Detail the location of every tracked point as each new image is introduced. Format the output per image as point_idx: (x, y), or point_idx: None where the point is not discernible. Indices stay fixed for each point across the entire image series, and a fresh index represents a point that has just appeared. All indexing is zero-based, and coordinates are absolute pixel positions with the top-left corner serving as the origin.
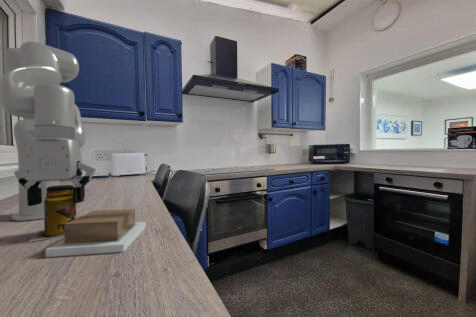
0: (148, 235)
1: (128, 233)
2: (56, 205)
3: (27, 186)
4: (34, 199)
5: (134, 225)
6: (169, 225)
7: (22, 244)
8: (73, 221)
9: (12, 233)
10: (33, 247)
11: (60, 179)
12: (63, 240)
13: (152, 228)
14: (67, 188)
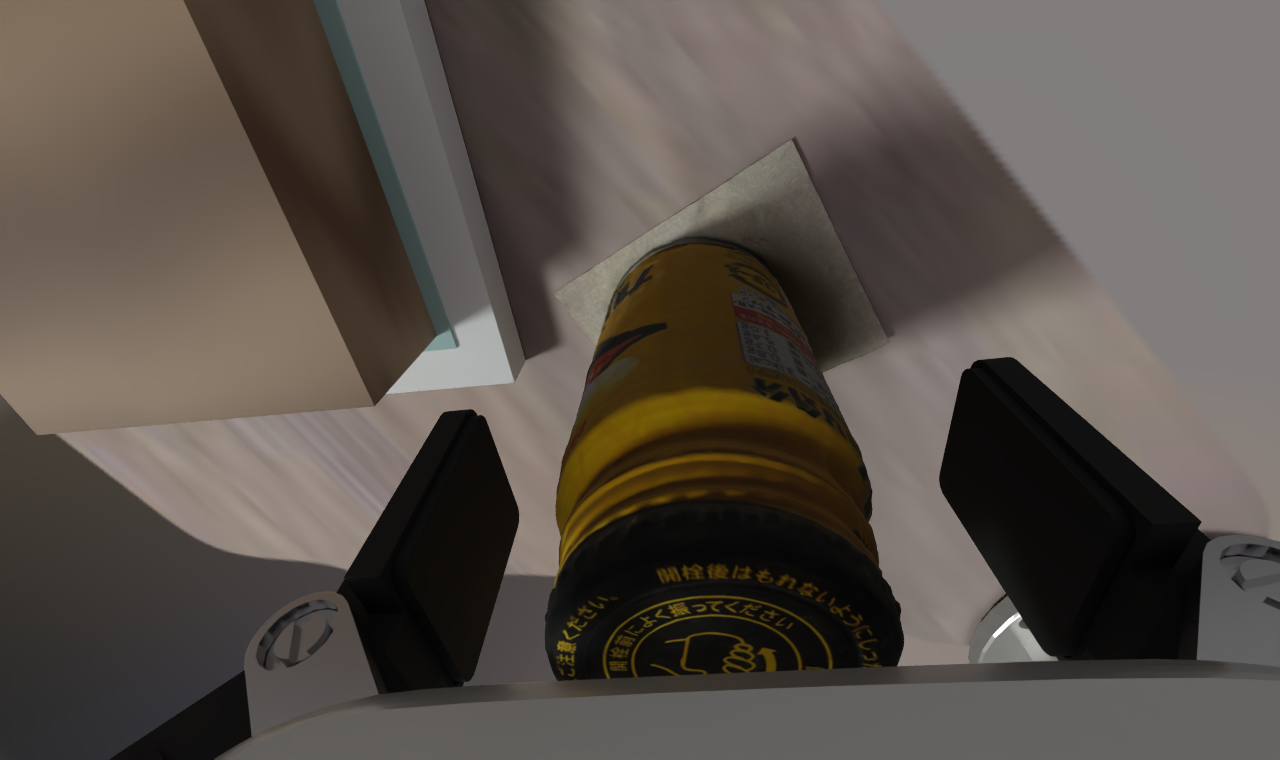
0: None
1: None
2: (645, 365)
3: (1274, 597)
4: (993, 447)
5: None
6: None
7: (808, 104)
8: (145, 2)
9: (1068, 326)
10: (664, 38)
11: (428, 698)
12: (390, 29)
13: None
14: (553, 604)
